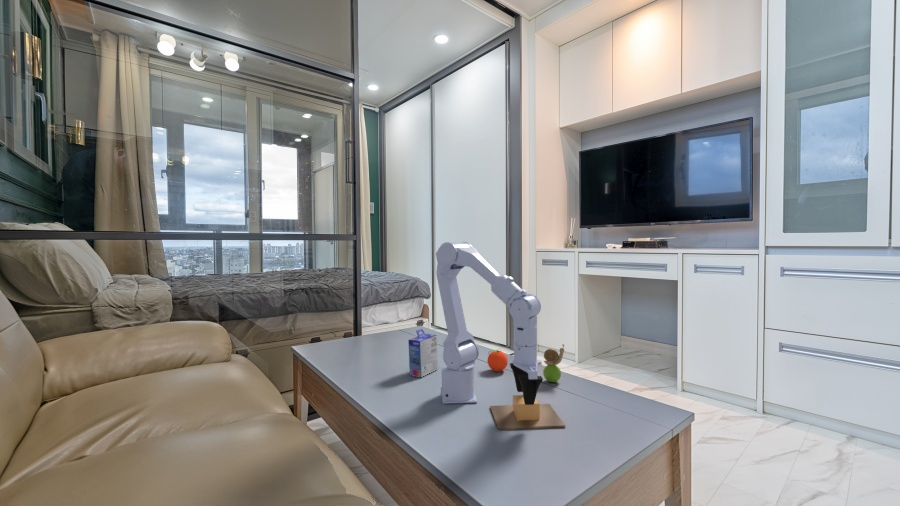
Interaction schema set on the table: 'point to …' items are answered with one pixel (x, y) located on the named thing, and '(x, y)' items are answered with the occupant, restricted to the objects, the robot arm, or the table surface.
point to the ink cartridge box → (423, 354)
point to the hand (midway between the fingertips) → (525, 397)
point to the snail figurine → (552, 364)
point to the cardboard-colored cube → (525, 409)
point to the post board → (509, 421)
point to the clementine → (497, 360)
